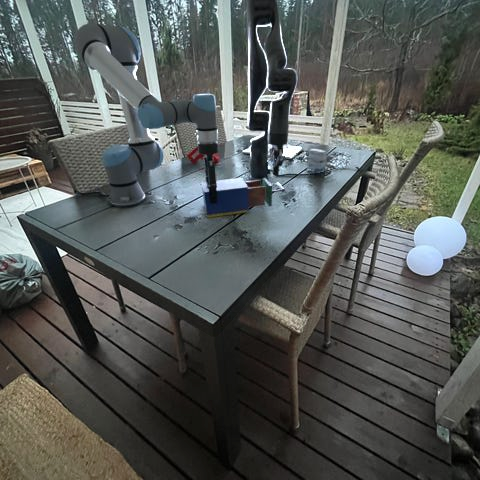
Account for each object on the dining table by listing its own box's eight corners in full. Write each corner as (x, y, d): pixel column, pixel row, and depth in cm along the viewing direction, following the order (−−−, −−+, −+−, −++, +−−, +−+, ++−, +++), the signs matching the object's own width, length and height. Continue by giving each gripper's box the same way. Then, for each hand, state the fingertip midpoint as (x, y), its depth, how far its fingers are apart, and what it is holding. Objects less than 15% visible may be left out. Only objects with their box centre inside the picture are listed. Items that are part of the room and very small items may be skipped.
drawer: (277, 195, 123) (278, 176, 118) (284, 204, 115) (286, 184, 110) (230, 201, 119) (228, 182, 115) (234, 211, 111) (233, 190, 107)
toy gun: (223, 158, 167) (209, 137, 163) (221, 160, 164) (206, 138, 160) (204, 173, 177) (189, 154, 173) (201, 175, 174) (186, 155, 170)
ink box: (324, 171, 156) (327, 150, 149) (319, 173, 153) (323, 152, 146) (310, 168, 160) (313, 148, 154) (306, 170, 157) (309, 149, 151)
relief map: (291, 159, 177) (291, 151, 174) (243, 153, 190) (243, 145, 187) (302, 149, 197) (303, 142, 194) (258, 144, 211) (258, 137, 208)
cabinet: (243, 201, 121) (242, 177, 115) (248, 212, 112) (248, 187, 106) (204, 206, 119) (201, 182, 113) (207, 217, 110) (204, 192, 104)
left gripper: (195, 135, 108) (200, 187, 120) (200, 150, 89) (205, 210, 101) (213, 134, 110) (217, 186, 122) (222, 149, 90) (225, 208, 102)
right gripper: (263, 127, 107) (262, 170, 117) (274, 134, 97) (271, 181, 106) (281, 126, 109) (278, 169, 118) (294, 133, 98) (289, 179, 107)
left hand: (211, 197), depth 111 cm, fingers closed on cabinet, 11 cm apart
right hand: (275, 174), depth 112 cm, fingers closed
